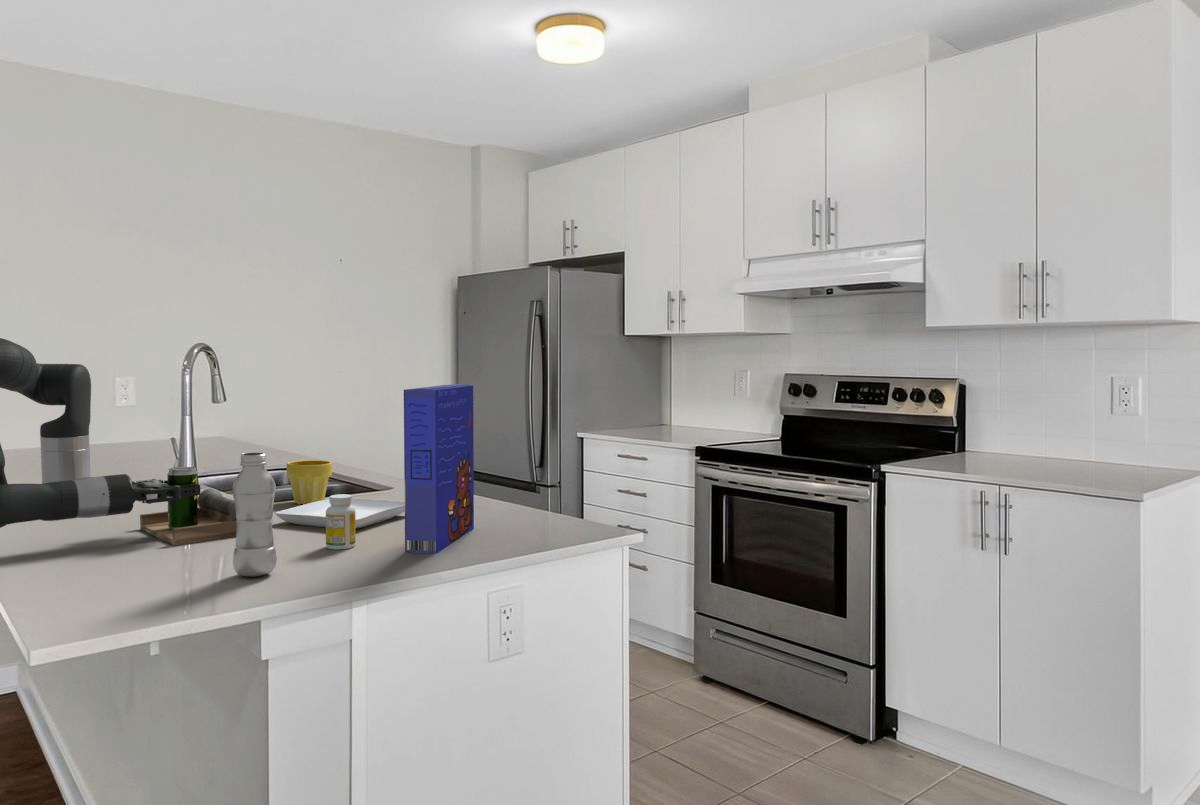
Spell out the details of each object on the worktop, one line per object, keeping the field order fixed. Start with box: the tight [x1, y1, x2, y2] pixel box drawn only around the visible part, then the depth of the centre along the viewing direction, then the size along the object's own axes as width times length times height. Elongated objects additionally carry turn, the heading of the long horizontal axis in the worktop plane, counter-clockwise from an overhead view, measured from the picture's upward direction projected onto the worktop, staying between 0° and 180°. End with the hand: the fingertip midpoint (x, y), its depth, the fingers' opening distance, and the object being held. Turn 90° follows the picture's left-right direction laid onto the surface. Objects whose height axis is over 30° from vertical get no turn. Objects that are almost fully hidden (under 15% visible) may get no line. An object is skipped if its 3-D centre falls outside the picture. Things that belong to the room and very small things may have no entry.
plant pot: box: [286, 459, 333, 505], centre depth 204 cm, size 10×10×10 cm
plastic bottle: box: [231, 452, 278, 578], centre depth 139 cm, size 6×7×20 cm
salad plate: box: [275, 497, 405, 530], centre depth 184 cm, size 21×21×3 cm
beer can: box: [166, 466, 199, 530], centre depth 170 cm, size 5×5×12 cm
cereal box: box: [403, 383, 475, 555], centre depth 165 cm, size 22×6×30 cm, turn 170°
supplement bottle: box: [325, 493, 357, 551], centre depth 159 cm, size 5×5×10 cm
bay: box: [139, 487, 237, 546], centre depth 172 cm, size 20×16×7 cm
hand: (191, 486), depth 171 cm, fingers open, 8 cm apart
